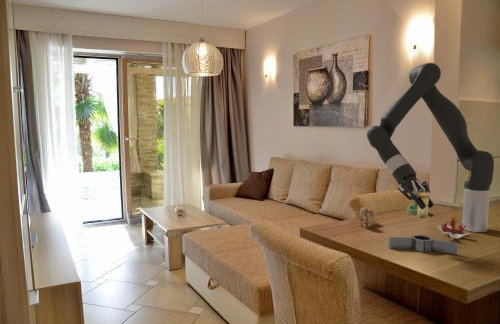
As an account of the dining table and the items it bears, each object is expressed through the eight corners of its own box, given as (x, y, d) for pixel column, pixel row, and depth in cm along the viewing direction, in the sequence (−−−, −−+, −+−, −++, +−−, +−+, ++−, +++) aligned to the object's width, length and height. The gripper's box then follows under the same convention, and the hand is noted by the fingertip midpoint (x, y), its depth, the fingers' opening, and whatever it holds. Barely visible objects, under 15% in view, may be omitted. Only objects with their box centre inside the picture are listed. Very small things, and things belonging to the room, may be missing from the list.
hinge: (395, 241, 151) (395, 231, 150) (458, 251, 139) (459, 240, 138) (388, 248, 143) (388, 237, 143) (454, 259, 131) (454, 247, 130)
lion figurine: (369, 229, 167) (370, 208, 166) (357, 228, 170) (357, 207, 169) (375, 221, 180) (375, 202, 179) (363, 220, 183) (363, 201, 182)
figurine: (463, 244, 147) (464, 226, 146) (430, 238, 155) (431, 221, 154) (474, 235, 158) (475, 219, 157) (443, 230, 166) (443, 214, 165)
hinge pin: (416, 214, 144) (417, 190, 143) (431, 216, 142) (432, 191, 141) (413, 217, 140) (414, 192, 139) (428, 219, 138) (429, 194, 137)
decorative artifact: (415, 216, 189) (433, 215, 192) (415, 202, 189) (433, 200, 191) (402, 212, 199) (419, 210, 202) (402, 198, 198) (419, 197, 201)
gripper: (393, 164, 142) (421, 203, 133) (419, 161, 149) (447, 199, 140) (381, 177, 147) (408, 215, 138) (406, 174, 154) (433, 210, 145)
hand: (427, 207), depth 139 cm, fingers closed on hinge pin, 3 cm apart
